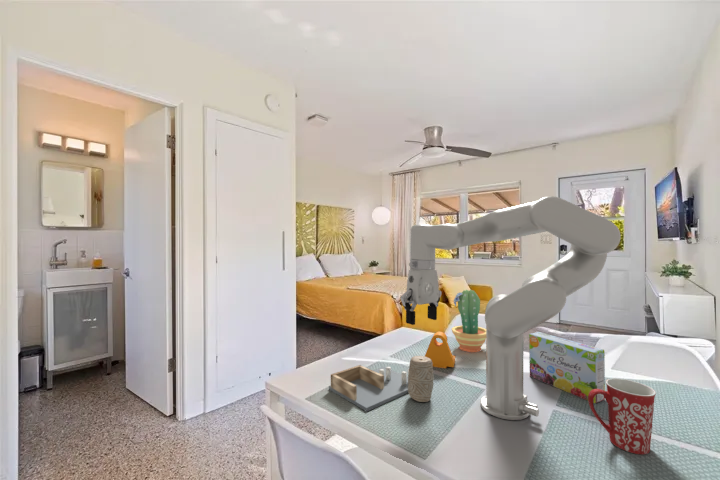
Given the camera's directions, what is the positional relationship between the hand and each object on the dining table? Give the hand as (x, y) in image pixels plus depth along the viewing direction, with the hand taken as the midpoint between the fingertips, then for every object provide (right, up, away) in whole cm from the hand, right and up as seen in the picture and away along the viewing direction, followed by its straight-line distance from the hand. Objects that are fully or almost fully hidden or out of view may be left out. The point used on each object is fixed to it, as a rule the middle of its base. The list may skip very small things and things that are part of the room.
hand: (421, 321), depth 102 cm
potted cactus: (+28, -22, +42) cm, 55 cm away
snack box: (+46, -22, +4) cm, 51 cm away
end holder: (-19, -21, +2) cm, 29 cm away
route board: (-14, -22, +5) cm, 26 cm away
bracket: (+11, -22, +25) cm, 35 cm away
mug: (+41, -22, -25) cm, 53 cm away
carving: (-1, -23, -3) cm, 23 cm away
